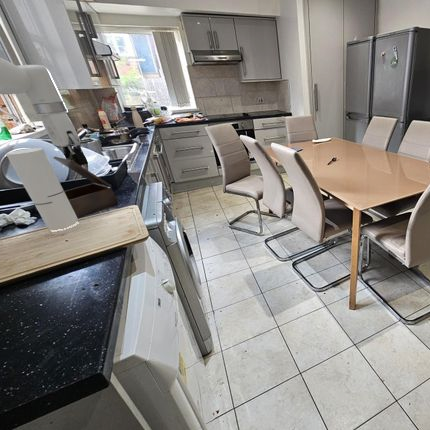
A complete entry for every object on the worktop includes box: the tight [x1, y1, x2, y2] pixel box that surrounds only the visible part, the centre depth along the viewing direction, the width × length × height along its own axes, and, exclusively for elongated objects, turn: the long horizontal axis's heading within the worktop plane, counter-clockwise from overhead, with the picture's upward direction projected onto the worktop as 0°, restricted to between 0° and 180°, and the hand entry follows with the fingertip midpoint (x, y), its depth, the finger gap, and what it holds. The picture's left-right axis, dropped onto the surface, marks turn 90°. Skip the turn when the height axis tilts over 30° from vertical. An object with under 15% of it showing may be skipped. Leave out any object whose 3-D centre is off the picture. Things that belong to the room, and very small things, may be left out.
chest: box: [64, 182, 119, 219], centre depth 99 cm, size 13×13×7 cm
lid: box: [53, 153, 112, 188], centre depth 97 cm, size 14×13×5 cm
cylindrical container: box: [5, 147, 82, 236], centre depth 78 cm, size 7×7×25 cm
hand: (78, 163), depth 95 cm, fingers closed on lid, 5 cm apart
